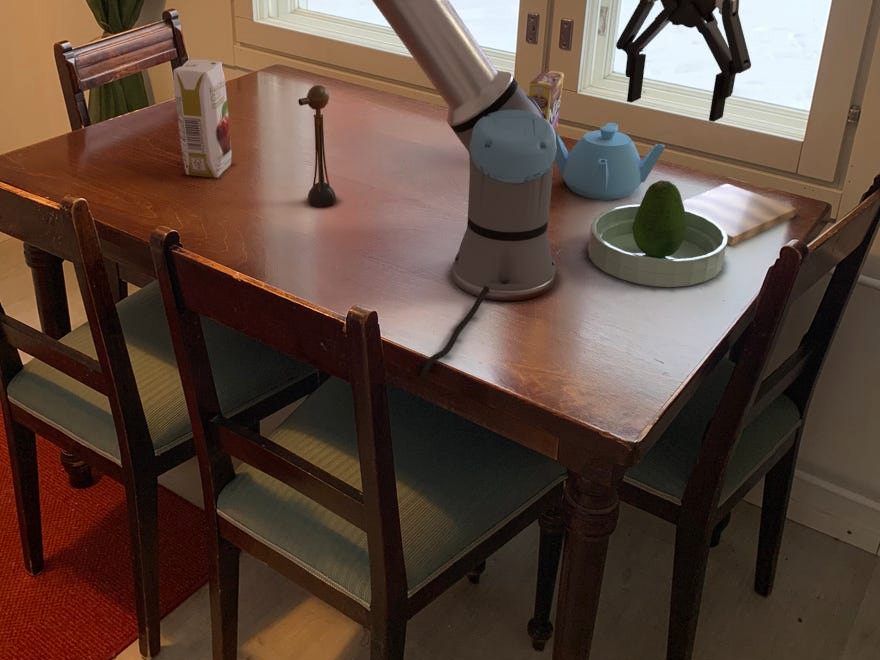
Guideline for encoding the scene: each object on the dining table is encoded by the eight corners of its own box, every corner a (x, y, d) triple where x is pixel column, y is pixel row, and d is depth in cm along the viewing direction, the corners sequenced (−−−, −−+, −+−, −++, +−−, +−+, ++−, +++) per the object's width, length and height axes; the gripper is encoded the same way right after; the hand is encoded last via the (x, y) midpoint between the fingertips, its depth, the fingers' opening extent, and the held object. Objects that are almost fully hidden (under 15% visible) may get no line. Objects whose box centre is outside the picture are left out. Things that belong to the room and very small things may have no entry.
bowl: (665, 302, 144) (670, 274, 142) (561, 253, 157) (563, 226, 155) (748, 262, 155) (754, 235, 153) (644, 219, 168) (648, 194, 165)
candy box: (543, 167, 187) (551, 85, 178) (521, 164, 188) (527, 82, 179) (556, 152, 194) (564, 71, 185) (535, 148, 195) (542, 68, 186)
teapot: (663, 194, 177) (673, 134, 171) (596, 211, 171) (604, 149, 165) (607, 166, 188) (614, 108, 182) (542, 180, 182) (547, 122, 175)
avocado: (639, 240, 161) (650, 168, 154) (687, 252, 157) (700, 179, 150) (621, 259, 155) (632, 186, 148) (670, 272, 152) (684, 197, 145)
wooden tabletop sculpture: (313, 211, 170) (307, 93, 158) (297, 202, 173) (291, 85, 161) (341, 202, 173) (337, 86, 161) (325, 194, 176) (321, 79, 164)
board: (731, 245, 160) (733, 237, 159) (660, 217, 169) (662, 209, 168) (794, 216, 169) (796, 208, 169) (724, 191, 178) (726, 183, 177)
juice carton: (180, 176, 182) (167, 70, 171) (199, 159, 189) (187, 56, 178) (219, 180, 181) (208, 73, 170) (236, 163, 188) (227, 59, 177)
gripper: (795, -40, 131) (764, 120, 143) (630, -61, 145) (615, 86, 157) (769, -31, 127) (739, 134, 139) (601, -53, 141) (588, 98, 153)
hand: (673, 109), depth 148 cm, fingers open, 13 cm apart
